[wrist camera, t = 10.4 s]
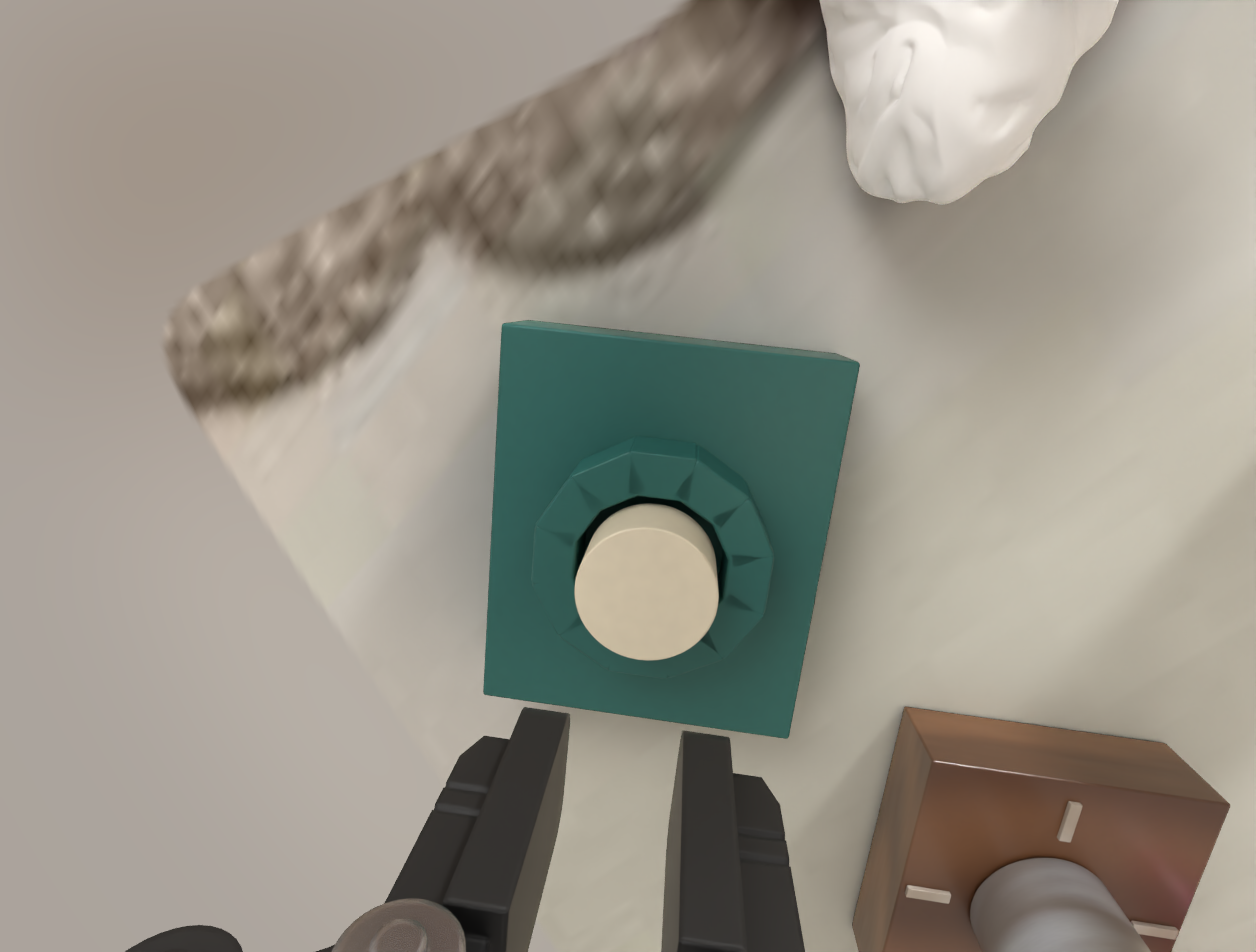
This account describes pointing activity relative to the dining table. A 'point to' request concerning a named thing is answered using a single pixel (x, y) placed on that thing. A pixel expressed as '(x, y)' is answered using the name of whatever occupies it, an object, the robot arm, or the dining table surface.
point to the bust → (950, 85)
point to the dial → (1049, 911)
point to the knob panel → (1029, 826)
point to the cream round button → (648, 582)
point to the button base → (668, 475)
